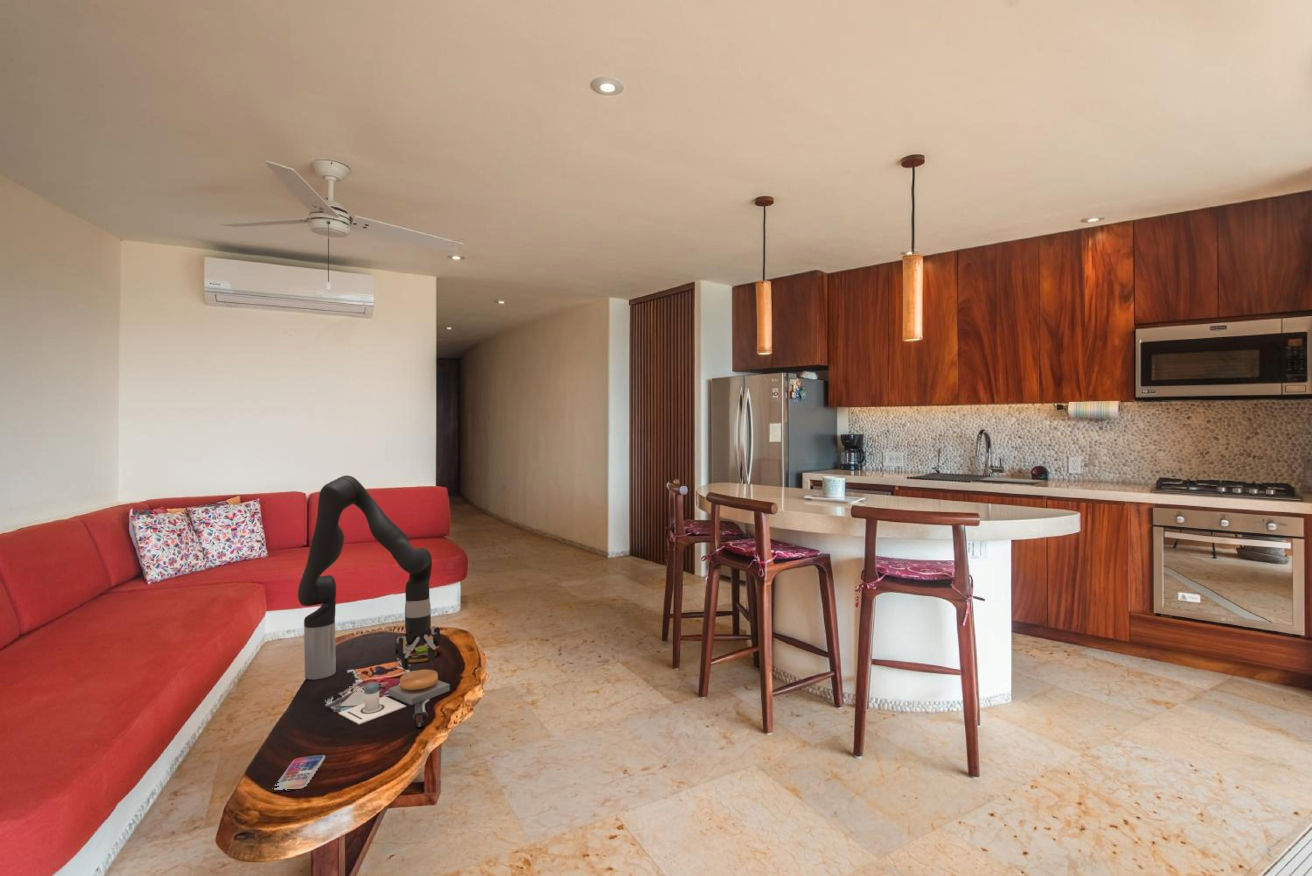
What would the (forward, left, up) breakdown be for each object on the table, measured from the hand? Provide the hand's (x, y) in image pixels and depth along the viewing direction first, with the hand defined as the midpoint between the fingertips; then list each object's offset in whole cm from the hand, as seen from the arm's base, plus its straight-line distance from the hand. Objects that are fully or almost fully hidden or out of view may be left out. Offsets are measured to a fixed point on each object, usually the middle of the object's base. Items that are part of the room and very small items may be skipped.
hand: (418, 665), depth 192 cm
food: (-30, +18, -9) cm, 36 cm away
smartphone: (+20, -43, -9) cm, 48 cm away
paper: (0, -15, -9) cm, 17 cm away
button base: (0, 0, -9) cm, 9 cm away
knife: (+12, -6, -9) cm, 16 cm away
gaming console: (-12, -11, -9) cm, 19 cm away
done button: (0, 0, -5) cm, 5 cm away
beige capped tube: (0, -15, -8) cm, 17 cm away
